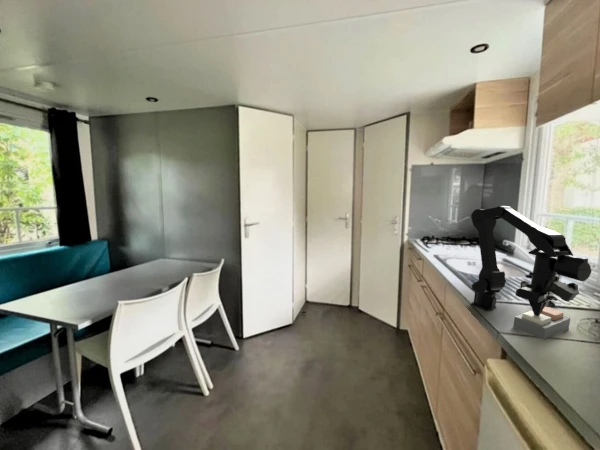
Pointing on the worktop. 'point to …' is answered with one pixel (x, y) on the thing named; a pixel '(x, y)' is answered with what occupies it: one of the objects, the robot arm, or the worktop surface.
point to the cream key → (537, 318)
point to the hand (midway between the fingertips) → (536, 315)
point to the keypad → (541, 327)
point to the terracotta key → (552, 313)
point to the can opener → (525, 284)
